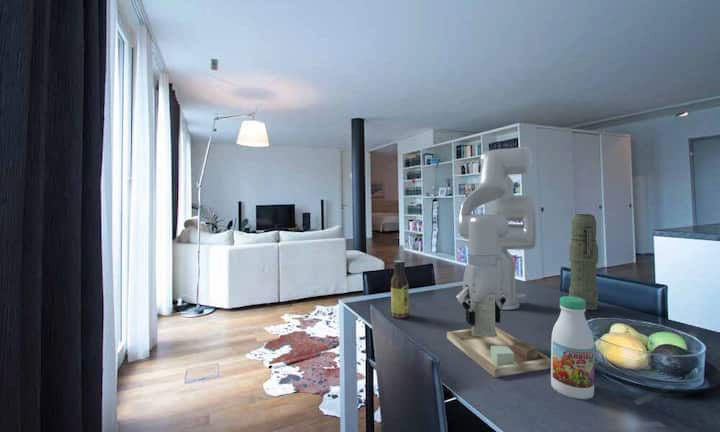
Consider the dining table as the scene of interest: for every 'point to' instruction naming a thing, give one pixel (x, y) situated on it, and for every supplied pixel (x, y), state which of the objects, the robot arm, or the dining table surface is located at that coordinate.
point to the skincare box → (485, 317)
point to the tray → (481, 352)
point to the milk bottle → (572, 351)
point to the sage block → (501, 355)
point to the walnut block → (524, 352)
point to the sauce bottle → (399, 291)
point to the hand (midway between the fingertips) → (483, 322)
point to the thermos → (584, 260)
